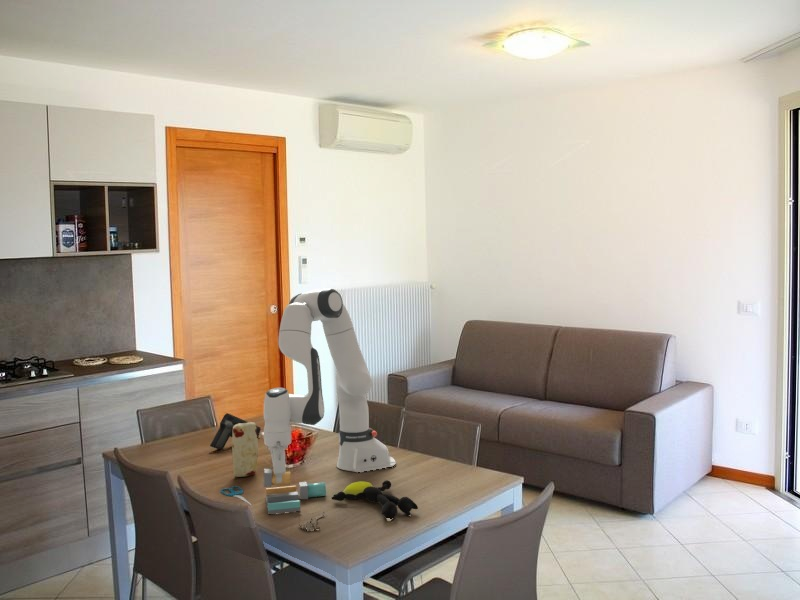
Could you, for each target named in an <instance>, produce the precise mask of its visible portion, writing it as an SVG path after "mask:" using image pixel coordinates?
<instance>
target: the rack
mask: <svg viewBox="0 0 800 600" xmlns="http://www.w3.org/2000/svg"><path fill="white" fill-rule="evenodd" d="M265 502H266V507H267V508H268V509H267V508H266V509H267V513H268V514H275V515H277V514H276V513H284V514H286V513H285V512H294V513H296V512H295V511H300V512H301V500H299V491H297V485H285V486H279V487H265Z"/></svg>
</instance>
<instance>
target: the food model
mask: <svg viewBox="0 0 800 600" xmlns="http://www.w3.org/2000/svg"><path fill="white" fill-rule="evenodd" d="M247 422H248V423H239V424H236V425H234V426H233V434H232V437H231V438H232V439H231V440H232V441H231V452H232V453H231V454H232V466H233V469H232V470H233V476H234V477H236V478H237V477H238V478H239V477H240V478H241V477H242V478H243V477H249V476H254V475H256V473H257V468H258V458H259V438H257V430H256V426H257V425H256V422H252V421H247Z"/></svg>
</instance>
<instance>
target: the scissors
mask: <svg viewBox="0 0 800 600" xmlns="http://www.w3.org/2000/svg"><path fill="white" fill-rule="evenodd" d="M234 489H238V490H239V491H236V490H234ZM224 490H225V491H228V490H229V493H226V492H224ZM220 493H221V494H222V495H224V496H226V497H234V498H238V499H239V500H240V501H241V500H242V501H244V502H245V503H246V504H249V505H250V506H253V504H251V502H249V501H248V500H247V499H246V498H245V497H243V496H242V495H243V494H244V490H243V488H241V487H240V486H237V485H236V486H231V487H230V488H226V487H225V488H221V489H220Z"/></svg>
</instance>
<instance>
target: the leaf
mask: <svg viewBox="0 0 800 600" xmlns="http://www.w3.org/2000/svg"><path fill="white" fill-rule="evenodd" d="M325 511H326V510H325ZM325 511H323V514H322V515H321V516H322V518H324V517H325ZM299 515H302V513H300V514H299ZM323 516H324V517H323ZM298 520H300V517H298ZM311 520H312V521H311ZM316 521H317V519H315V522H313V518H312V517H311V519H310V520H309V523H308V521H307V523H308V524H310V523H311V525H309V526H310V527H308V524H307V523H306V524H303V523H299V524H298V526H300V527H301V528H302V529H301V530H305V529H306V528H307V529H306V530H307V531H306V530H305V531H306V532H310V531H309V530H313V529H319V530H320V531H321V527H320V526H319V527H316ZM317 522H318V521H317ZM300 527H299V528H300Z"/></svg>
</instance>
